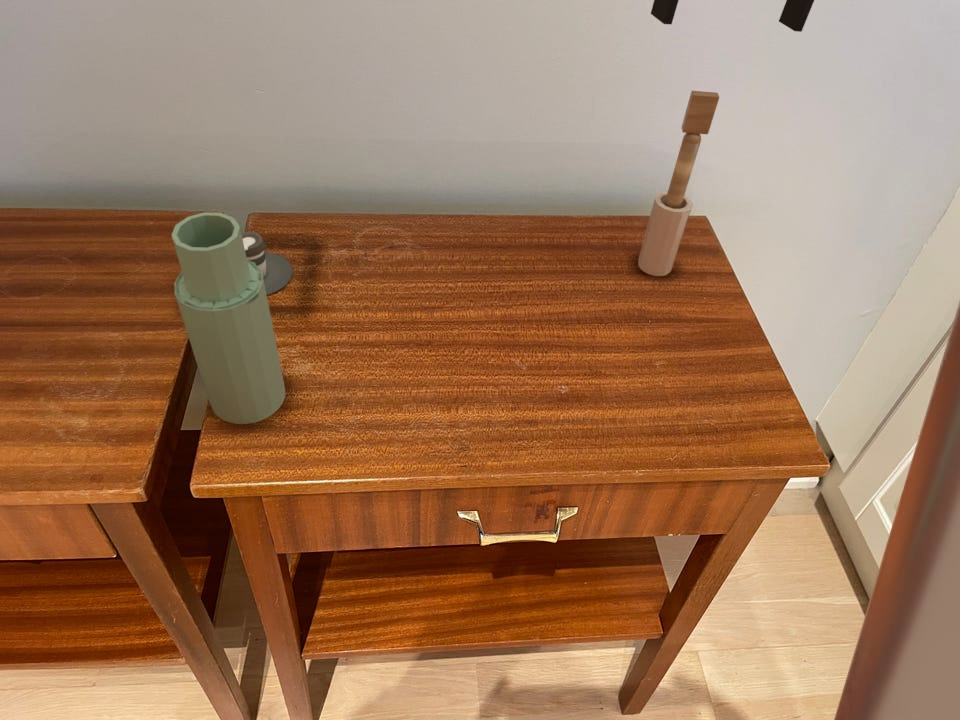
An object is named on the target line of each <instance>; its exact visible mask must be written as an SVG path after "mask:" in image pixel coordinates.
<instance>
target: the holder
mask: <svg viewBox="0 0 960 720" xmlns="http://www.w3.org/2000/svg"><path fill="white" fill-rule="evenodd" d="M667 193H668V190H663V191H661V192H658V193H657V194H656V195H655V197H654V200H653V204H652V206H651V207H652V208H651V210H650V215H649V218H648V222H647V226H646V229H645V233H644V237H643V239H642V243H641V247H640V250H639V251H640V252H639V256H638V261H637V265H638V268H639V269H640V270H641V271H642V272H644V273H645V274H647V275H649V276H654V277H664V276H667V275H669V274H670V273H671V272H672V270H673V267H674V265H675V262H676V258H677V255H678V252H679V250H680V246H681V243H682V239H683V237H684V234H685V230H686V228H687V224H688V221H689V218H690V215H691V212H692V209H693V205H694V204H693V201H692V199H691V198H690V197H688V196H687V195H686V194H685V195H684V198H683V201H682V205H681V208H680V209H673V208H670V207H667V206H665V205H664V203H665V200H666V196H667Z"/></svg>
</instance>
